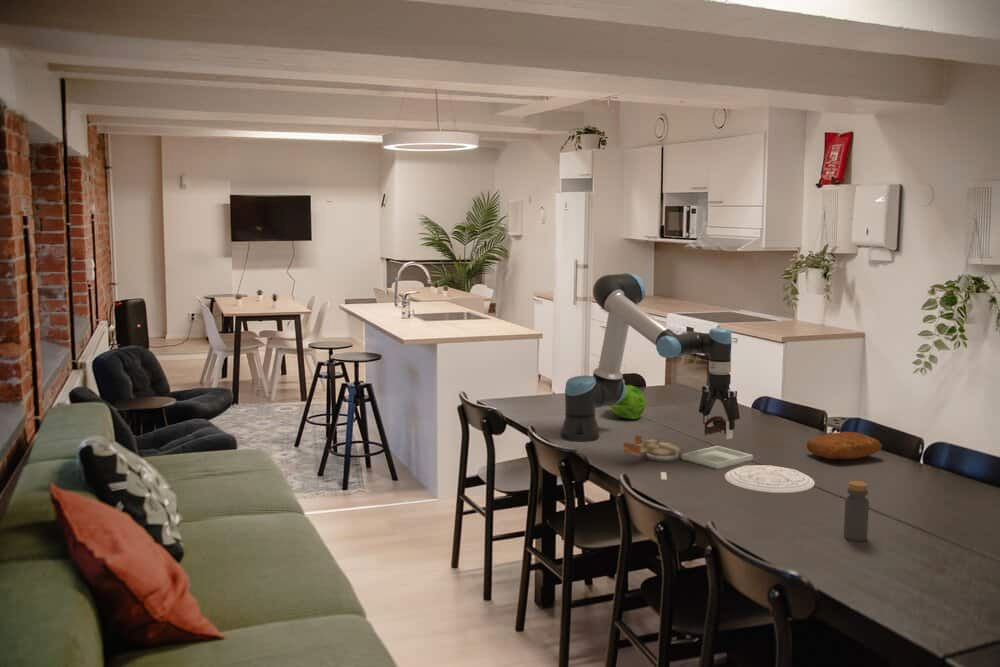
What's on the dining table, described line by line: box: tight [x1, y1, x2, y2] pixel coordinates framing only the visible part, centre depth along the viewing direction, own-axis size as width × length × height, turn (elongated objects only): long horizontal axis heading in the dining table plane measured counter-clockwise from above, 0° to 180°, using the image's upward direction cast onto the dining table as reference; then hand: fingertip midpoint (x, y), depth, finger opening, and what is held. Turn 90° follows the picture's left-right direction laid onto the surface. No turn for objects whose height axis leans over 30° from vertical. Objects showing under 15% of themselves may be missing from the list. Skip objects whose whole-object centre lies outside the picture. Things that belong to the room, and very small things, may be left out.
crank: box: [622, 434, 681, 456], centre depth 315 cm, size 22×12×7 cm, turn 126°
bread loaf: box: [806, 431, 883, 460], centre depth 316 cm, size 22×17×8 cm
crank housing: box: [646, 451, 679, 462], centre depth 318 cm, size 11×11×2 cm
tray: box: [681, 445, 754, 470], centre depth 314 cm, size 16×19×2 cm
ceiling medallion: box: [724, 464, 815, 494], centre depth 291 cm, size 28×28×3 cm
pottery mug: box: [703, 415, 728, 437], centre depth 314 cm, size 12×10×8 cm
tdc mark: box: [660, 471, 668, 481], centre depth 295 cm, size 8×2×1 cm, turn 171°
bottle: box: [843, 480, 870, 542], centre depth 237 cm, size 6×6×15 cm
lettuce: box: [609, 384, 647, 420], centre depth 383 cm, size 15×22×15 cm
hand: (718, 435), depth 313 cm, fingers closed on pottery mug, 9 cm apart
